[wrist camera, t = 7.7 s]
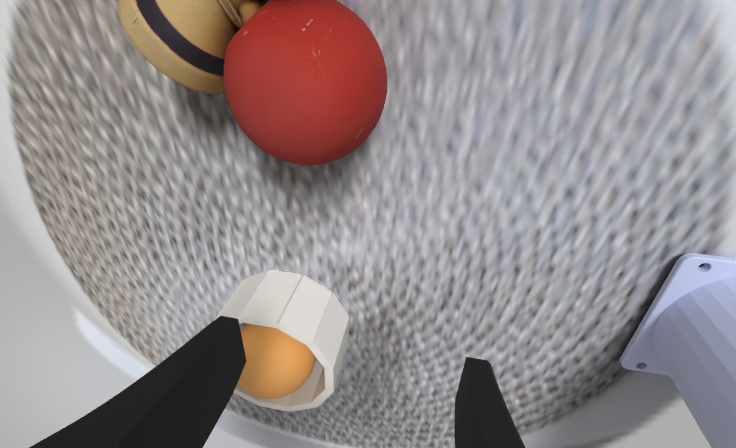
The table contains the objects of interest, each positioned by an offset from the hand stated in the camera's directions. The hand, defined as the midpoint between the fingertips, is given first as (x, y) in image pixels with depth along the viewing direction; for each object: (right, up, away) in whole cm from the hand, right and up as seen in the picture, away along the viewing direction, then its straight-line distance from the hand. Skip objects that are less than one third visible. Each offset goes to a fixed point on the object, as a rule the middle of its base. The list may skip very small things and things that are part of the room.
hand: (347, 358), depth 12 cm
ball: (-5, -4, +11) cm, 13 cm away
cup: (-5, -2, +13) cm, 14 cm away
